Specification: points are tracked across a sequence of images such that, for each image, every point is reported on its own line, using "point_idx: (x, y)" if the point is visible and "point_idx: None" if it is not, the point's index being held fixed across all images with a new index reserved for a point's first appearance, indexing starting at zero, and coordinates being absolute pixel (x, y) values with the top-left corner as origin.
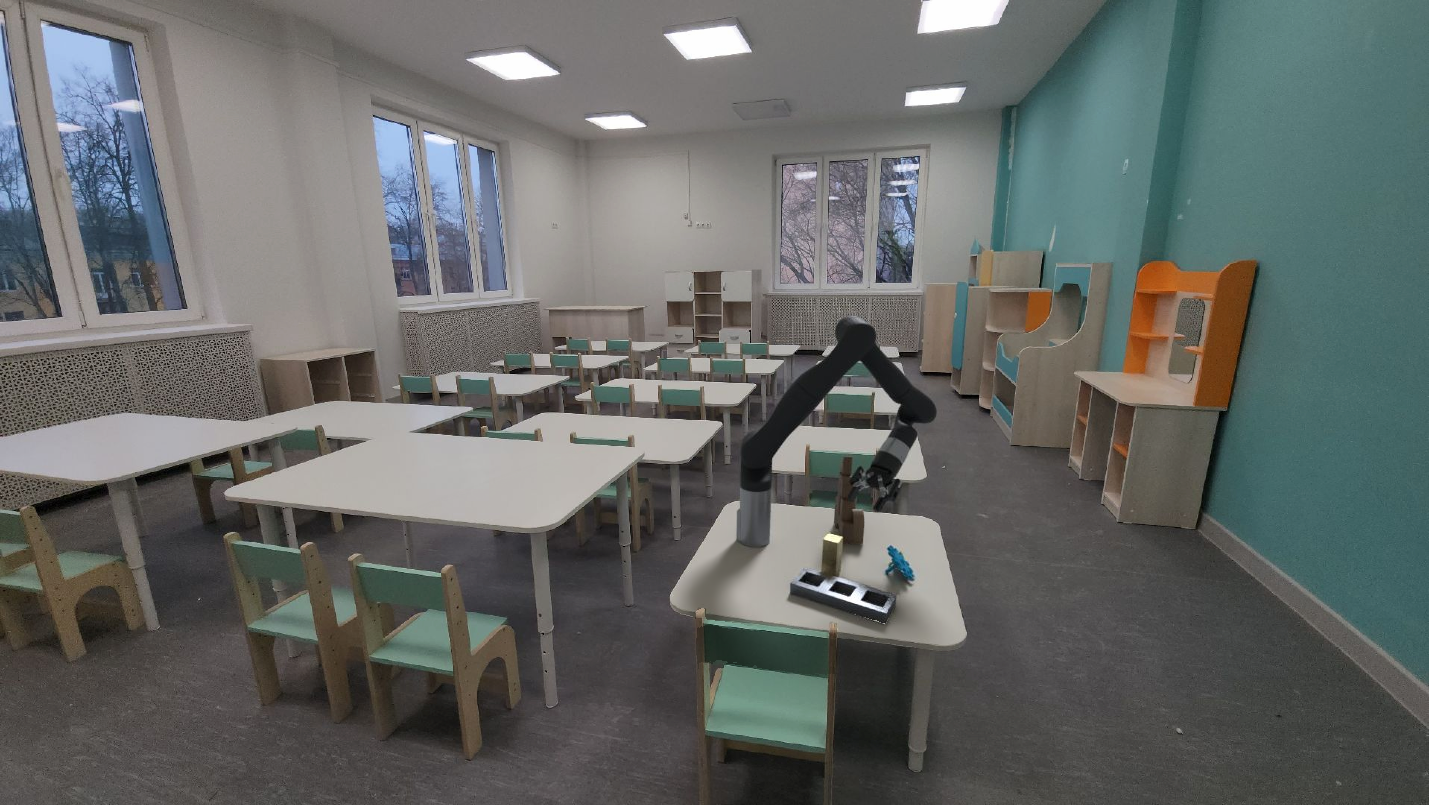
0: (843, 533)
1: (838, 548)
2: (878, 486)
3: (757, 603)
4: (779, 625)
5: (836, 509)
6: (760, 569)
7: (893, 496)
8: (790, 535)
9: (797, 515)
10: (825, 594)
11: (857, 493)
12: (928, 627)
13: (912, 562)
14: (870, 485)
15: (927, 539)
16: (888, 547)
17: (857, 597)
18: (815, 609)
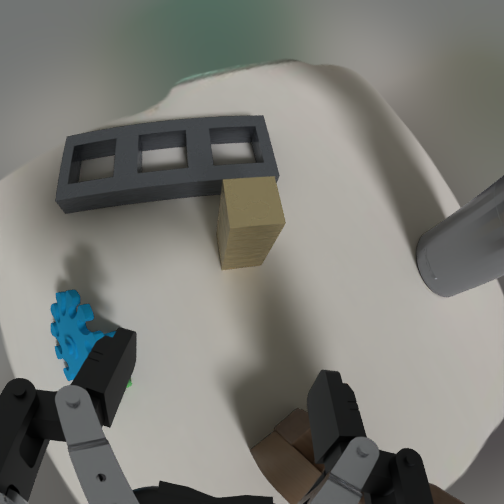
0: (306, 414)
1: (222, 203)
2: (145, 489)
3: (281, 92)
4: (221, 71)
5: None
6: (355, 170)
7: (29, 439)
8: (414, 343)
9: (450, 438)
10: (185, 119)
11: (316, 444)
12: (14, 191)
13: None
14: (241, 500)
15: None
16: (95, 333)
17: (124, 143)
18: None
